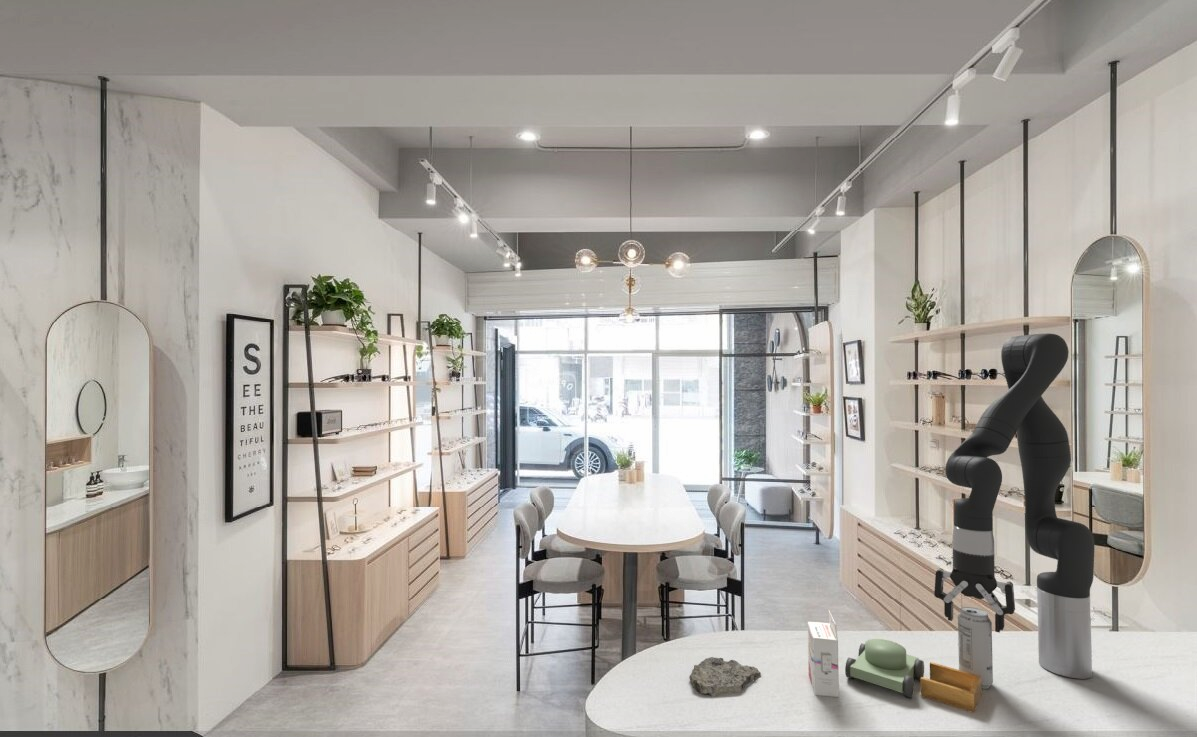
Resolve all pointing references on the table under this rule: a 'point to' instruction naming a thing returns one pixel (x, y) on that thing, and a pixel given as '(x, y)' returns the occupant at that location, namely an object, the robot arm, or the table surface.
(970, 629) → the energy drink can
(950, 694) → the bracket
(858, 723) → the table surface
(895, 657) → the green toy car
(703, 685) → the stone slab
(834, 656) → the ink cartridge box
